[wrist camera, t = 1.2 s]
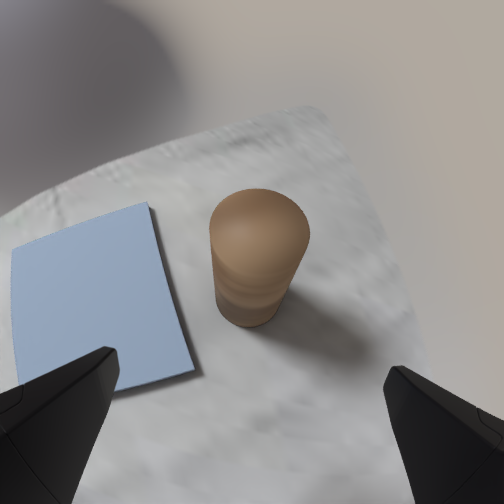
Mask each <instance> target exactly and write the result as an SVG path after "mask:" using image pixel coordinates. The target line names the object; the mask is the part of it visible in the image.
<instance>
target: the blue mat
mask: <svg viewBox="0 0 504 504" xmlns="http://www.w3.org/2000/svg"><path fill="white" fill-rule="evenodd" d="M11 320H12V334H13V345H14V354H15V362H16V369H17V376H18V382H19V385H21V384H24V383H26V382H28V381H30V380H33V379H35V378H37V377H39V376H41V375H43V374H46V373H48V372H50V371H52V370H54V369H56V368H58V367H61V366H63V365H65V364H67V363H69V362H71V361H73V360H75V359H78V358H80V357H82V356H84V355H86V354H88V353H90V352H92V351H94V350H96V349H98V348H101V347H103V346H108V347H113V348H115V349H116V350H117V354H118V360H119V366H120V374H119V378H118V381H117V384H116V387H115V390H114V392H118V391H122V390H126V389H130V388H134V387H138V386H142V385H146V384H149V383H153V382H157V381H160V380H164V379H167V378H171V377H174V376H178V375H181V374H184V373H188V372H191V371H194V370H195V367H194V364H193V361H192V359H191V356H190V353H189V350H188V347H187V344H186V341H185V338H184V335H183V332H182V329H181V325H180V322H179V319H178V316H177V313H176V309H175V306H174V303H173V299H172V296H171V292H170V289H169V285H168V282H167V278H166V275H165V271H164V267H163V264H162V260H161V256H160V252H159V248H158V244H157V240H156V236H155V232H154V228H153V224H152V219H151V215H150V210H149V206H148V203H147V202H143V203H140V204H137V205H133V206H130V207H127V208H124V209H121V210H118V211H115V212H112V213H109V214H106V215H103V216H100V217H97V218H94V219H91V220H88V221H85V222H82V223H79V224H77V225H74V226H71V227H68V228H66V229H63V230H60V231H58V232H55V233H52V234H50V235H47V236H45V237H42V238H39V239H37V240H34V241H32V242H29V243H27V244H25V245H22V246H20V247H17V248H15V249H13V250H12V260H11Z"/></svg>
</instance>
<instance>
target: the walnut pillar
mask: <svg viewBox="0 0 504 504" xmlns="http://www.w3.org/2000/svg"><path fill="white" fill-rule="evenodd" d="M209 230H210V243H211V254H212V265H213V276H214V286H215V295H216V303H217V306H218V309H219V311H220V312H221V314H222V315H223V316H224V317H225V318H226V319H227V320H228V321H229V322H231V323H233V324H235V325H237V326H241V327H256V326H260V325H262V324H264V323H266V322H267V321H269V320H270V319H271V318H272V317H273V316H274V315H275V313H276V311H277V309H278V307H279V305H280V303H281V301H282V299H283V297H284V295H285V293H286V291H287V289H288V287H289V285H290V283H291V281H292V279H293V277H294V274H295V272H296V270H297V268H298V266H299V264H300V262H301V260H302V258H303V255H304V253H305V251H306V249H307V246H308V244H309V239H310V229H309V224H308V221H307V218H306V216H305V214H304V213H303V211H302V210H301V209H300V207H299V206H298V205H297V204H296V203H295V202H293V201H292V200H291V199H289V198H288V197H286V196H284V195H282V194H280V193H277V192H275V191H271V190H266V189H247V190H242V191H239V192H236V193H233V194H232V195H230V196H228V197H227V198H225V199H224V200H223V201H222V202H220V203H219V205H218V206H217V207H216V208H215V210H214V212H213V214H212V216H211V220H210V226H209Z"/></svg>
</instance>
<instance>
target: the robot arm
mask: <svg viewBox="0 0 504 504" xmlns="http://www.w3.org/2000/svg"><path fill="white" fill-rule="evenodd" d="M119 374H120V366H119V360H118V354H117V350H116V349H115V348H113V347H108V346H103V347H101V348H98V349H96V350H94V351H92V352H90V353H88V354H86V355H84V356H82V357H80V358H78V359H75V360H73V361H71V362H69V363H67V364H65V365H63V366H61V367H58V368H56V369H54V370H52V371H50V372H48V373H46V374H43V375H41V376H39V377H37V378H35V379H33V380H30V381H28V382H26V383H24V384H21V385H19V386H17V387H15V388H13V389H10V390H8V391H6V392H3V393H1V394H0V504H72V501H73V498H74V495H75V493H76V490H77V487H78V484H79V482H80V479H81V476H82V474H83V471H84V469H85V466H86V464H87V461H88V459H89V456H90V454H91V451H92V449H93V446H94V444H95V441H96V439H97V436H98V434H99V432H100V429H101V427H102V425H103V422H104V420H105V418H106V415H107V413H108V410H109V407H110V404H111V400H112V397H113V394H114V390H115V387H116V384H117V381H118V378H119ZM383 391H384V396H385V400H386V404H387V408H388V413H389V417H390V422H391V426H392V429H393V432H394V435H395V438H396V441H397V444H398V447H399V450H400V453H401V457H402V460H403V463H404V466H405V469H406V473H407V476H408V479H409V483H410V486H411V490H412V493H413V497H414V500H415V504H504V420H501V419H499V418H497V417H495V416H493V415H491V414H489V413H487V412H485V411H483V410H481V409H480V408H476V406H474V405H472V404H470V403H468V402H467V401H465V400H463V399H461V398H459V397H458V396H456V395H454V394H452V393H451V392H449V391H447V390H445V389H443V388H442V387H440V386H438V385H436V384H435V383H433V382H431V381H429V380H428V379H426V378H424V377H422V376H420V375H419V374H417V373H415V372H413V371H412V370H410V369H408V368H406V367H405V366H402V365H401V366H393V367H391V369H390V371H389V373H388V376H387V378H386V381H385V383H384V386H383Z"/></svg>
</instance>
